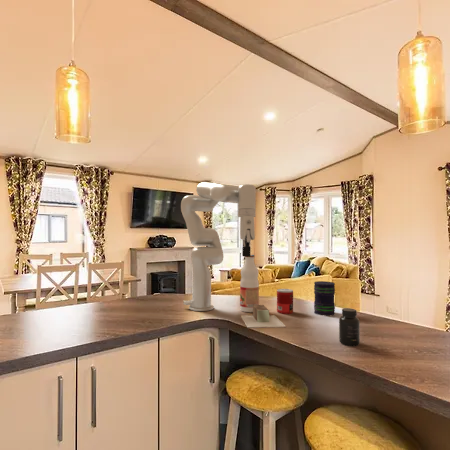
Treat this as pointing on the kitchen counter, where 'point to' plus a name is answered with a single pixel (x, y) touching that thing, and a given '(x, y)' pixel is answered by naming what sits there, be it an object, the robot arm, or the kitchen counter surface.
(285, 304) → the canned food
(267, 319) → the block
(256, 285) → the fruit juice
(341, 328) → the supplement bottle
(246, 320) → the mat
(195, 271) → the robot arm
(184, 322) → the kitchen counter surface
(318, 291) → the storage jar
